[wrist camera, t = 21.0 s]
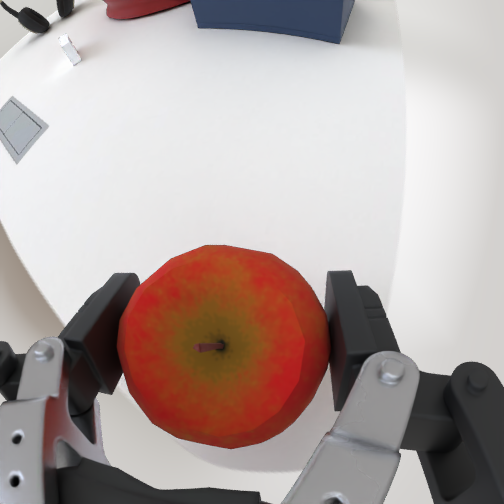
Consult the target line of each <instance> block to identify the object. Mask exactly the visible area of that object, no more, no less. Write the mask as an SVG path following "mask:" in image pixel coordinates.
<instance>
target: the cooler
mask: <svg viewBox="0 0 504 504" xmlns="http://www.w3.org/2000/svg"><path fill="white" fill-rule="evenodd" d="M190 1H191V4H192V8H193V11H194V15H195V18H196V22H197V25H198V28H223V29H241V30H254V31H264V32H273V33H281V34H288V35H295V36H301V37H307V38H312V39H317V40H323V41H327V42H332V43H336V44H340V41H341V38H342V36H343V33H344V30H345V27H346V24H347V22H348V19H349V16H350V13H351V11H352V8H353V5H354V2H355V0H190Z"/></svg>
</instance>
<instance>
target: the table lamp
mask: <svg viewBox="0 0 504 504" xmlns="http://www.w3.org/2000/svg"><path fill="white" fill-rule="evenodd" d="M103 1H104V2H106V3H107V4H108V6H107V16H108V17H110V18H115V19H129V18H135V17H140V16H144V15H148V14H151V13H155V12H158V11H161V10H165V9H168V8H171V7H174V6H177V5H180V4H183V3H185V2H188V1H190V0H103Z"/></svg>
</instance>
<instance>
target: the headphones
mask: <svg viewBox="0 0 504 504" xmlns="http://www.w3.org/2000/svg"><path fill="white" fill-rule="evenodd" d="M0 4H1V5H2V7H3V8H4V9H5V10H6V11H8V12H9V13H10V14H12V15H13V16H15V17H16V18H18V20H19V23H20V24H21V25H22V26H23V27H24V28H26V29H27V30H29V31H31V32H33V33H36V34H37V33H42V32H44V31H46V30H47V29H48V27H49V22H48V21H47V20H46V19H45V18H44V17H43V16H42V15H40V14H39V13H37V12H36V11H34V10H32V9H30V8H27V7H25V8H23V9H22V10H21V11H20V12H19V13H18V12H17V11H15V10H13V9H11V8H10V7H8V6H7V5H6V4H5V3H4V2H3V1H2V0H0ZM57 7H58V12H59V15H60V16H61V17H65V16H67V15H69V14H70V12H71V11H72V9H73V8H74V0H57Z"/></svg>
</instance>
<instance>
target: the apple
mask: <svg viewBox="0 0 504 504" xmlns="http://www.w3.org/2000/svg"><path fill="white" fill-rule="evenodd" d="M117 351H118V355H119V358H120V362H121V366H122V369H123V373H124V376H125V380H126V383H127V387H128V390H129V393H130V394H131V395H132V397H133V398H134V400H135V401H136V402H137V404H138V405H139V406H140V408H141V409H142V410H143V412H144V413H145V414H146V416H147V417H148V418H149V420H150V421H151V422H152V423H153V424H154V425H156V426H158V427H159V428H161V429H163V430H164V431H166V432H168V433H169V434H171V435H173V436H175V437H176V438H179V439H183V440H187V441H192V442H196V443H201V444H206V445H211V446H216V447H222V448H228V449H234V448H239V447H244V446H249V445H254V444H259V443H262V442H264V441H267V440H269V439H271V438H272V437H274V436H276V435H278V434H280V433H281V432H283V431H284V430H285V429H286V428H288V427H289V426H290V425H291V424H292V423H294V422H295V421H296V420H297V418H298V417H299V416H300V415H301V413H302V412H303V411H304V410H305V408H306V407H307V406H308V405H309V403H310V402H311V401H312V399H313V397H314V395H315V393H316V391H317V389H318V387H319V385H320V383H321V381H322V379H323V377H324V375H325V373H326V370H327V368H328V363H329V358H330V354H331V339H330V332H329V326H328V319H327V314H326V312H325V311H324V309H323V307H322V305H321V303H320V302H319V300H318V298H317V296H316V294H315V293H314V291H313V289H312V287H311V286H310V285H309V284H308V283H307V281H306V280H305V279H304V278H303V277H302V276H301V274H300V273H299V272H298V271H297V270H295V269H294V268H293V267H291V266H290V265H288V264H287V263H285V262H284V261H282V260H281V259H279V258H278V257H276V256H275V255H273V254H271V253H266V252H260V251H255V250H249V249H244V248H238V247H233V246H227V245H204V246H202V247H199V248H197V249H194V250H192V251H189V252H186V253H184V254H181V255H179V256H176V257H174V258H171V259H170V260H169V261H168V262H166V263H165V264H164V265H163V266H162V267H160V268H159V269H158V270H157V271H156V272H155V273H153V274H152V275H151V276H150V277H149V278H148V279H147V280H145V281H144V282H143V283H142V284H141V285H140V286H139V287H137V288H136V290H135V292H134V294H133V296H132V297H131V299H130V301H129V303H128V305H127V307H126V309H125V310H124V312H123V314H122V316H121V318H120V320H119V329H118V339H117Z"/></svg>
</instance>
